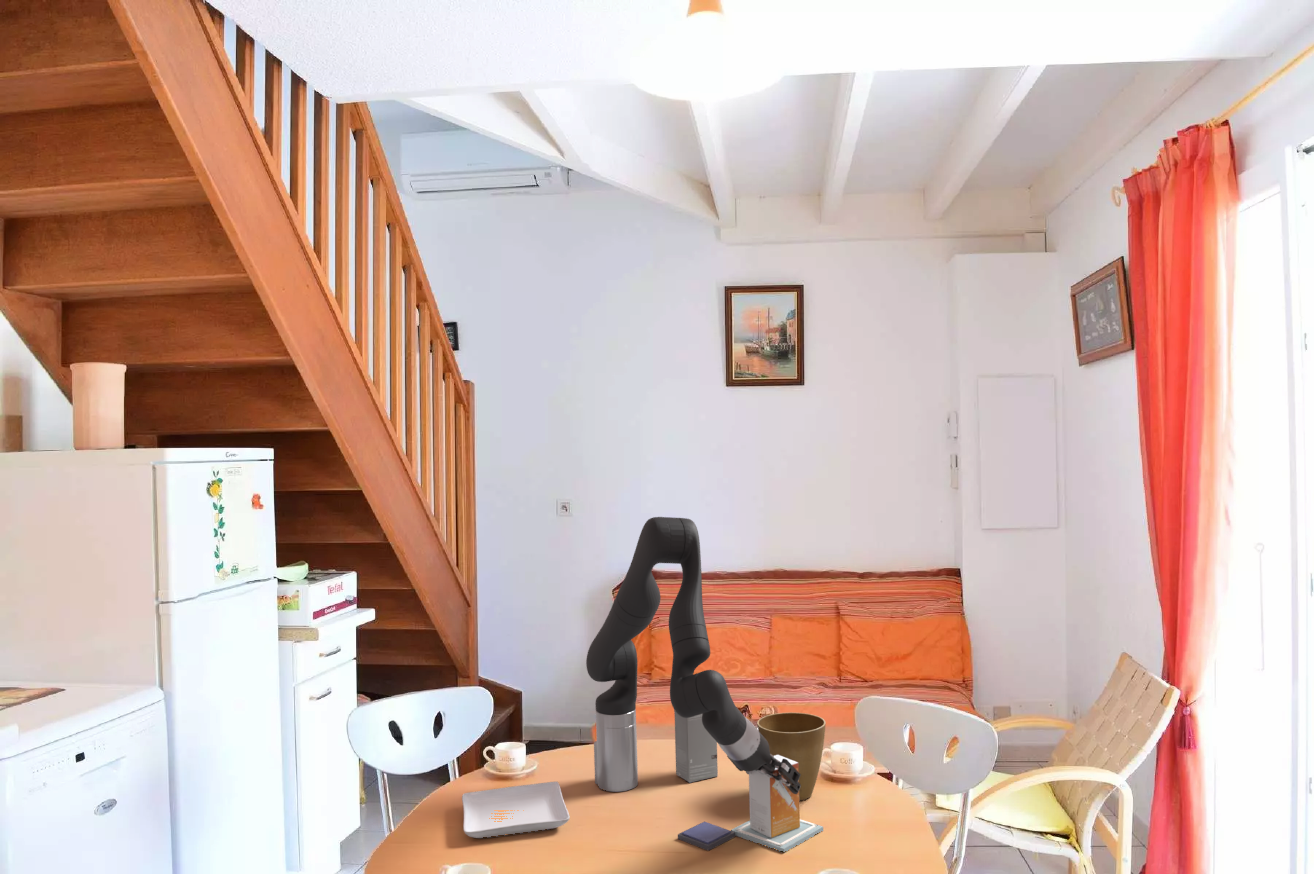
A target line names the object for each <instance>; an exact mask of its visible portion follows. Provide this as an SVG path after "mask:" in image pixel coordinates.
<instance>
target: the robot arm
mask: <svg viewBox="0 0 1314 874" xmlns="http://www.w3.org/2000/svg"><path fill="white" fill-rule="evenodd" d="M637 540H638V541H637V543H636V547H635V550H634V553H633V557H632V560H631V562H630V565H629V567H628V570H627V572H626V574H625V577H624V580H623V581H622V583H621V585H620V587H619V588H618V591H617V594H616V596H615V599H614V600H613V603H612V605H611V608H610V611H609V612H608V615H607V617H606V618H605V621H604V623H603V624H602V626H601V628H600V629H599V631H598V632H597V633H596V635H595V637H594V639H593V641H592V642H591V643H590V645H589V648H588V650H587V654H586V661H585V662H586V663H585V665H586V671H587V674H588V676H589V677H590V678H591V680H593V681H595V682H598V683H606V682H607V683H608V682H612V681H614V683H613V685H611V686H610V687H609V688H608V689H607V690H606V691H604V692H602V693H601V694H599V695H598V696H597V697H596V698H595V723H596V724H595V726H596V728H595V730H596V731H595V732H596V733H595V734H596V740H595V741H594V742H593V754H594V755H593V756H594V757H593V760H594V783H595V785H597V786H599V787H598V788H599V789H601V790H602V789H604V790H603V791H605V790H606V791H605V792H614V793H615V792H626V791H629V790H632V789H635V788H636V787H638V784H639V770H638V769H639V767H638V741H637V740H638V739H637V736H638V735H637V734H638V733H637V709H636V708H637V707H636V704H637V703H636V702H637V697H638V653H637V648H636V646H635V643H634V642H633V639H634V638H636V637H637V636H639V635H640V634H641V633H643V632H644V630H646V629H647V628H648V627H649V625H651V623H652V621H653V619H654V617H655V615H656V613H657V611H658V609H659V607H660V604H661V597H662V596H661V591H660V589H659V585H658V583H657V581H656V578H655V577H654V575H653V572H652V570H653V569H654V567H655V566H656V565H657V564H676V565H677V564H679V565H680V567H681V570H682V578H681V579H682V581H681V585H680V587H679V589H678V592H677V595H676V597H675V599H674V601H673V603H672V606H671V608H670V612H669V616H668V631H669V638H670V643H671V648H672V649H671V650H672V664H671V677H670V683H669V684H670V685H669V697H670V698H669V699H670V703H671V706H672V708H673V711H674V710H675V711H676V713H677V714H678V715H680V716H681V717H684V718H690V717H694V716H697V715H700V714H702V723H703V726H704V728H705V729H706V730H707V732H708V733H709V734H710V735H711V736H712V737H713V738H714V739H715V740H716V742H717V745H718V746H719V747H720V749H721V750H722V751H723V752H724V754H725V755H726V757H727V758H728V759H729V760H730V761H731V763H732V764H733V766H735V768H736V769H737V770H738V771H740V772H743V771H744V772H745V773H746V774H747V775H748V776H749V773H750V774H751V773H752V771H754V770H756V771H758V772H760V773H761V774H763V775H766V776H768V777H770V778H771V779H773V780H774V781H780V782H782V783H784V784H785V785H786V786H787V787H788V788H789V790H790V791H791V792H792V793H793V794H797V793H798V792H799V789H800V787H801V785H800V783H799V782H798V780H799V778H800V776H801V774H800V773H799V772H798V771H797V770H796V769H795V768H794V767H793V766H792V765H791V764H790V763H789V761H788V760H786V759H783V760H782V762H780V761H779V760H777V759H775V758H774V756H773V755H772V754H770V749H769V744H768V742H767V740H766V739H765V738H764V737H763V735H762V734H761V733H760V732H759V730H758V727H756V726H755V725H754V724H753V722H752V721H750V720H749V719H748V718H747V717H746V716H744V714H743V713H742V712H741V711H740V710H739V708H738V707H737V706H736V705H735V703H734V700H733V698H732V696H731V693H730V690H729V687H728V685H727V682H726V678H725V677H724V676H723V675H722V674H721V673H720V672H718V671H717V670H713V669H706V670H703V671H700V672H697V673H695V671H696V669H697V668H698V666H700V665H701V664H703V663H704V662H706V661H708V660H709V658H710V656H711V647H710V646H711V645H710V640H709V636H708V629H707V625H706V619H705V612H704V605H703V603H704V602H703V588H702V587H703V583H702V579H703V578H702V560H701V557H702V555H701V544H700V536H699V531H698V527H697V525H696V524H695V521H693V520H692V519H690V518H687V517H685V518H684V517H666V516H655V517H654V516H653V517H650V518H649V519H647V520H646V521H645V522H644V525H643V526H642V529H641V531H640V534H639V537H638V539H637ZM775 768H777V769H778V771H777V774H776V776H775V775H773V774H772V773H773V772H774V770H775ZM782 776H783V777H784V778H785V779H786V780H785V779H784V778H782Z"/></svg>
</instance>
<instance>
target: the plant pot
mask: <svg viewBox="0 0 1314 874" xmlns="http://www.w3.org/2000/svg"><path fill="white" fill-rule="evenodd" d="M756 724H757V730H758V731H759V732H760V733H761V734H762V735H763V737H764V738H765V739H766V740H767V742H768V744H769V749H770V754H772V755H773V756H775V755H780V756H783V757H785V758H788V759H790V760H793V761H796V762H798V764H799V773H800V774H801V776H800V778H799V783H800V785H801V787H800V789H799V801H805V800H807V798H808V799H810V798H811V797H812V795H813V792H814V788H815V786H816V783H817V780H818V779H817V778H818V776H819V771H820V765H821V762H822V756H823V751H824V745H825V736H826V724H827V723H826V720H825V719H824V718H823V717H821V716H819V715H815V714H811V713H805V712H804V713H803V712H778V713H771V714H767V715H765V716H763V717H761V718H759V719H758V720H757V722H756Z"/></svg>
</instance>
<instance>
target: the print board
mask: <svg viewBox="0 0 1314 874" xmlns="http://www.w3.org/2000/svg"><path fill="white" fill-rule="evenodd" d="M730 831H733V832H735V837H737V838H741V837H742V838H741V839H744V840H747V841H749V840H750V841H749V842H752V841H753V842H752V843H755V844H757V843H760V844H762V845H761V846H763V845H766V846H768V847H767V848H769V847H770V848H769V849H771V848H775V849H777V850H779V851H778V852H780V851H783V852H785V851H787V852H789V851H790V850H789V849H791V848H792V849H794V848H796V847H797V846H796V845H798V846H799V845H801V844H803V843H804V841H805V840H806V841H808V840H809V838H810V837H812V838H813V837H815V836H816V835H815V834H817V833H819V832H820V833H822V832H824V826H822V825H819V824H816V823H813V822H809V821H808V820H803V819H801V818H800V828H797V829H794V830H791V831H788V832H785V833H783V834H780V835H777V836H775V837H772V838H770V837H768V836H766V835H764V834H761V833H759V832H757V831H755V830H753V829H751V828H750V819H749V820H748V821H745V822H743V823H742V824H739V825H737V826H736V827H734V828H732V829H730ZM821 831H822V832H821ZM820 833H819V834H820ZM814 835H815V836H814ZM817 835H818V834H817ZM810 839H811V838H810ZM806 841H805V842H806ZM800 843H801V844H800ZM760 844H759V845H760ZM766 846H765V847H766ZM795 846H796V847H795ZM793 847H794V848H793ZM792 849H791V850H792ZM777 850H776V851H777ZM788 850H789V851H788ZM785 853H786V852H785Z"/></svg>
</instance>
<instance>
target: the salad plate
mask: <svg viewBox="0 0 1314 874" xmlns="http://www.w3.org/2000/svg"><path fill="white" fill-rule="evenodd" d="M461 801H462V809H463V826H462V828H463V832H464V834H465V835H466V836H468V837H470V838H474V839H484V838H483V837H487V838H492V837H491V836H496V837H499V836H498V835H504V836H506V835H505V834H513V835H516V834H515V833H520V834H524V833H523V832H528V833H532V832H531V831H535V832H539V831H538V830H542V831H546V830H545V829H547V830H550V829H551V830H552V829H556V828H559V827H562V826H564V825H566V823H568V822H569V821H570V819H571V818H570V813H569V810H568V807H567V806H566V803H565V801H564V797H563V793H562V788H561V786H560V783H559V782H558V781H549V782H548V781H547V782H539V783H531V784H522V785H514V786H508V787H507V786H505V787H499V788H492V789H486V790H479V791H478V790H477V791H470V792H465V793H463V794H462V796H461ZM494 810H509V811H506V812H505V811H504V812H498V811H494ZM510 810H513V811H510ZM514 810H515V811H514ZM517 810H519V811H517ZM523 810H524V811H523ZM491 813H493V814H491ZM494 813H510V814H504V815H503V814H502V815H499V814H498V815H497V814H496V815H495V814H494ZM511 813H512V814H511ZM513 813H514V814H513ZM491 816H492V817H491ZM494 816H505V817H502V818H508V819H503V820H501V819H500V820H499V819H496V820H495V819H491V818H501V817H494ZM506 816H507V817H506ZM512 816H513V817H512ZM489 818H490V819H489ZM510 818H511V819H510ZM512 818H513V819H512ZM494 821H496V822H494ZM497 821H502V822H497Z"/></svg>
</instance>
